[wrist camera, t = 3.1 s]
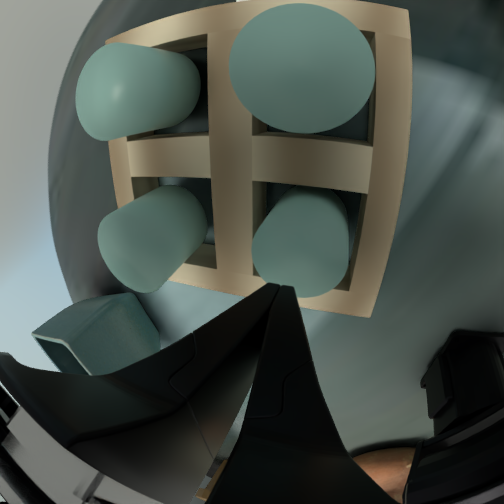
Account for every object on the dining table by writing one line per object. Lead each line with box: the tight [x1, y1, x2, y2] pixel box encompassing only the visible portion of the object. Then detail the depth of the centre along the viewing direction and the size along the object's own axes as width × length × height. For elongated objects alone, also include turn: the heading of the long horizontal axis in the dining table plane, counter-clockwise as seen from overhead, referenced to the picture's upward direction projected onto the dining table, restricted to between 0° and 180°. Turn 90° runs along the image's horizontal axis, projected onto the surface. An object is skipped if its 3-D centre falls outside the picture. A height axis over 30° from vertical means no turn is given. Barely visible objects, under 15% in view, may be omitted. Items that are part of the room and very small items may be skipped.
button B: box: [229, 3, 375, 133], centre depth 7 cm, size 4×4×4 cm
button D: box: [76, 42, 201, 141], centre depth 9 cm, size 4×4×4 cm
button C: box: [98, 184, 208, 293], centre depth 13 cm, size 4×4×4 cm
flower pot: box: [32, 292, 160, 375], centre depth 21 cm, size 9×9×9 cm
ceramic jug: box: [352, 447, 416, 504], centre depth 20 cm, size 18×14×14 cm
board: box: [105, 0, 412, 318], centre depth 13 cm, size 15×15×2 cm
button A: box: [251, 185, 349, 298], centre depth 13 cm, size 4×4×4 cm
